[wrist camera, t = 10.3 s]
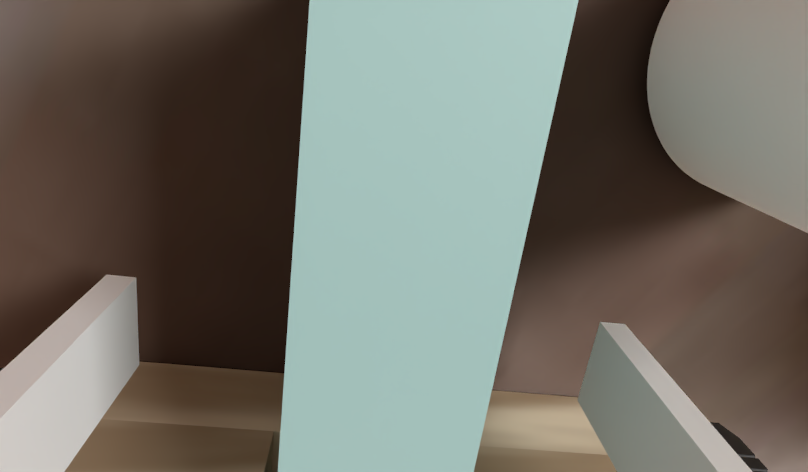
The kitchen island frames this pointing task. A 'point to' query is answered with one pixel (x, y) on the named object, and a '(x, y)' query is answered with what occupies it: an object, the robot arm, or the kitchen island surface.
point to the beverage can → (736, 99)
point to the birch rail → (261, 423)
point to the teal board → (411, 223)
